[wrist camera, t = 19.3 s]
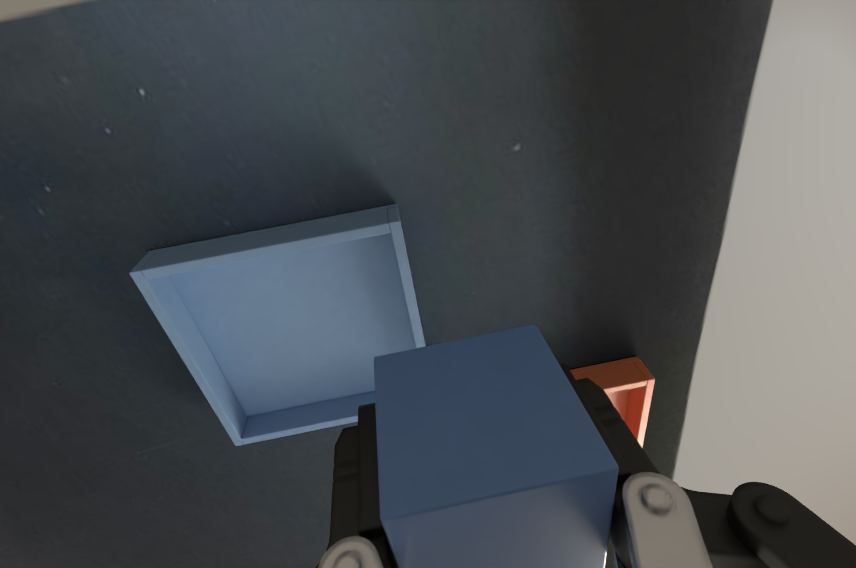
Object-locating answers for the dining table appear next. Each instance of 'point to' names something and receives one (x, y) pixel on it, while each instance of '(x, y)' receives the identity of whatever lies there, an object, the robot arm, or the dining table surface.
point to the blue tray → (287, 318)
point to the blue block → (489, 457)
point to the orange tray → (624, 389)
